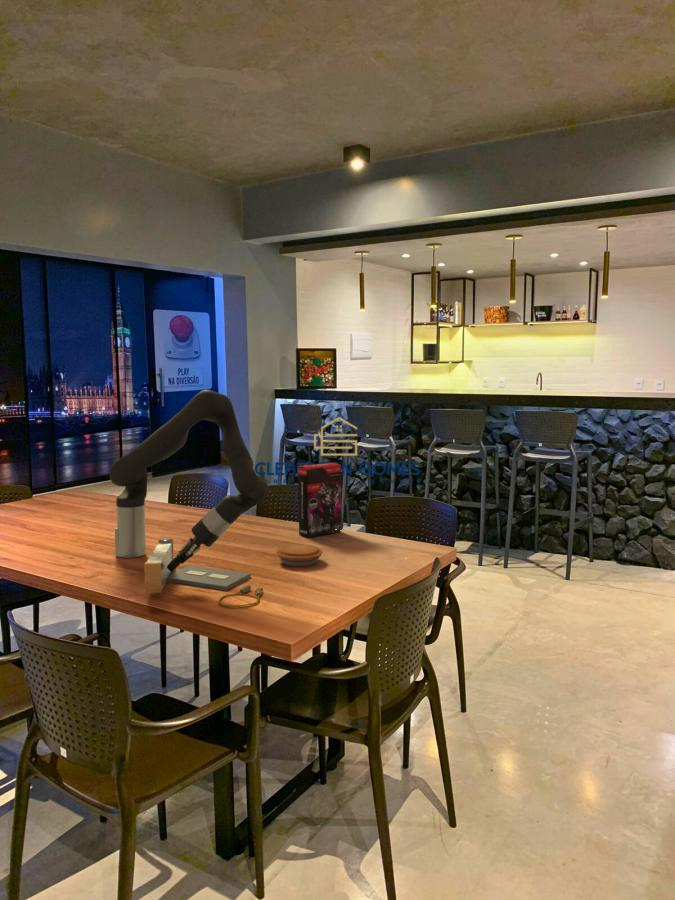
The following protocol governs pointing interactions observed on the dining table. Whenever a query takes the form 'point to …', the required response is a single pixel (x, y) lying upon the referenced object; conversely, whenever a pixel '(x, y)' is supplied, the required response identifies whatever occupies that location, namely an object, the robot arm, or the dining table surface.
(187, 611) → the dining table surface
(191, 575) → the panel
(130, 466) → the robot arm
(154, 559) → the grey rectangular block
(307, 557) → the pie
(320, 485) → the graphics card box
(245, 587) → the extension cord
